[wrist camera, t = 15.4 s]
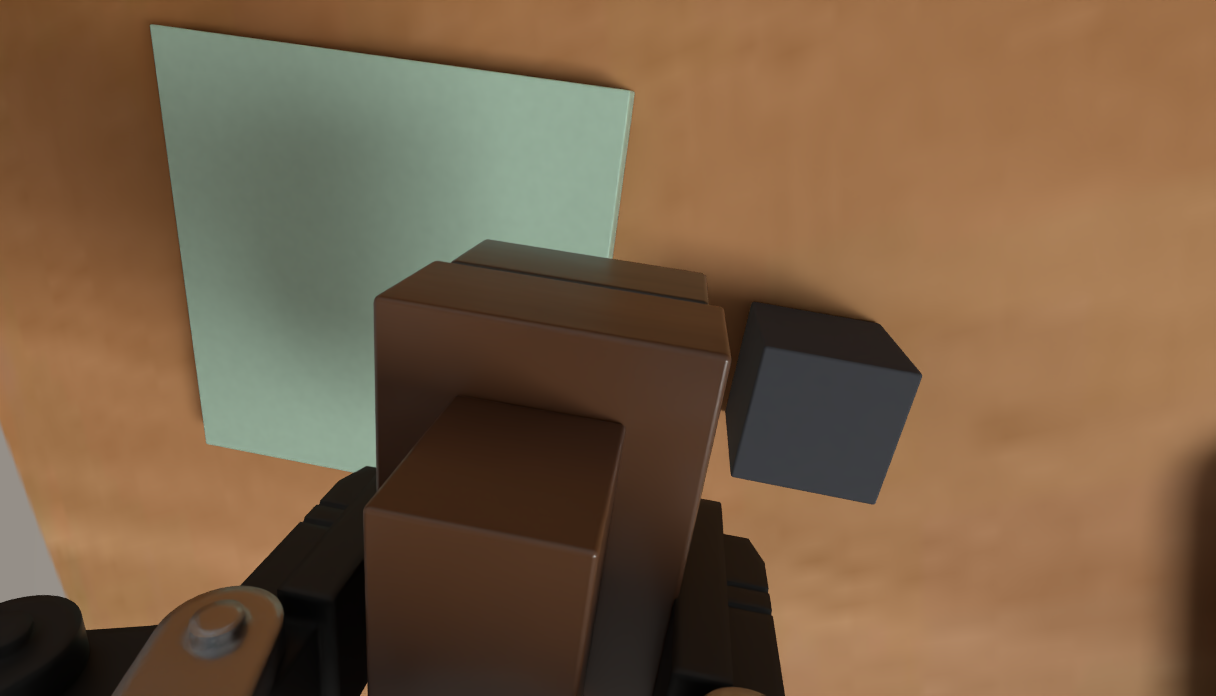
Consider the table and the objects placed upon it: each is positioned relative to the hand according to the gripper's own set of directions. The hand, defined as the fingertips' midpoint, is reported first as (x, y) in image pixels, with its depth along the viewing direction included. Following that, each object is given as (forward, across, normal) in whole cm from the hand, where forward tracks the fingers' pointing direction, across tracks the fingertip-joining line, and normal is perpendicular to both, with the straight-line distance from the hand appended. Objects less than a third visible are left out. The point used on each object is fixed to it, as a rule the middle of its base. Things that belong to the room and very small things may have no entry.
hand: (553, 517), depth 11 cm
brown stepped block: (+1, 0, 0) cm, 1 cm away
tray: (+10, +8, 0) cm, 13 cm away
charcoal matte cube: (+8, -4, +1) cm, 9 cm away
